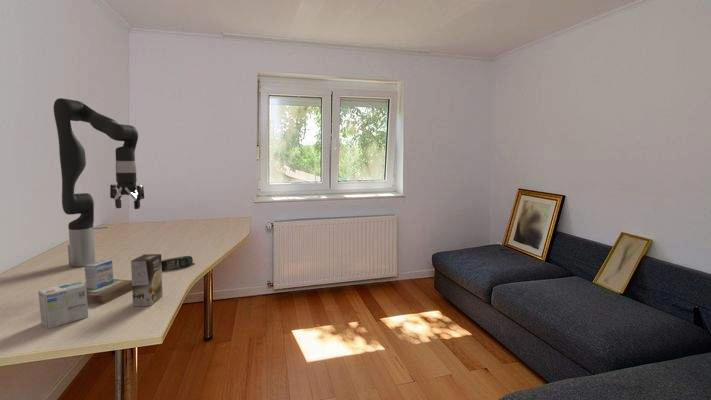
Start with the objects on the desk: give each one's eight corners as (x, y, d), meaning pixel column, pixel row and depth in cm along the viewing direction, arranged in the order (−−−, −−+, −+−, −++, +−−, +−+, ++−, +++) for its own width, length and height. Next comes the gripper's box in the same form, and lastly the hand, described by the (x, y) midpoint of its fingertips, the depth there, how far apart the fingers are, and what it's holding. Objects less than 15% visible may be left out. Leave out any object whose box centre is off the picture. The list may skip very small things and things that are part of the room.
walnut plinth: (62, 301, 129) (61, 292, 128) (98, 285, 145) (98, 277, 144) (103, 304, 127) (103, 294, 127) (136, 288, 143) (136, 279, 142)
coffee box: (151, 306, 126) (149, 260, 124) (132, 306, 126) (130, 260, 124) (163, 296, 135) (161, 253, 133) (145, 296, 135) (143, 253, 133)
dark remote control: (161, 261, 163) (196, 254, 173) (159, 259, 165) (193, 253, 175) (162, 272, 164) (196, 265, 174) (160, 270, 166) (194, 263, 176)
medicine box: (96, 289, 131) (95, 266, 130) (85, 288, 132) (84, 265, 131) (114, 282, 139) (112, 260, 138) (103, 281, 140) (102, 259, 139)
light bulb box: (81, 311, 121) (78, 280, 119) (89, 317, 117) (87, 284, 116) (39, 323, 112) (36, 289, 111) (47, 329, 108) (44, 294, 107)
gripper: (104, 171, 155) (106, 209, 157) (135, 172, 154) (136, 210, 156) (117, 170, 163) (119, 206, 165) (147, 171, 161) (148, 208, 163)
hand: (127, 208), depth 160 cm, fingers open, 8 cm apart
